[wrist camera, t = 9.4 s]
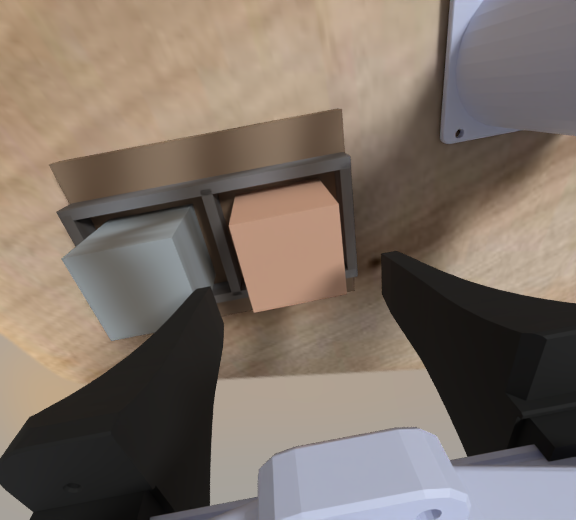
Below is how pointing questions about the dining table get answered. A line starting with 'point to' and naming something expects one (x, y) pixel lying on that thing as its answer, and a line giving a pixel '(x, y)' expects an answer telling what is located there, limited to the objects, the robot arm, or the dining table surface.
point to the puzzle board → (205, 164)
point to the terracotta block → (289, 244)
